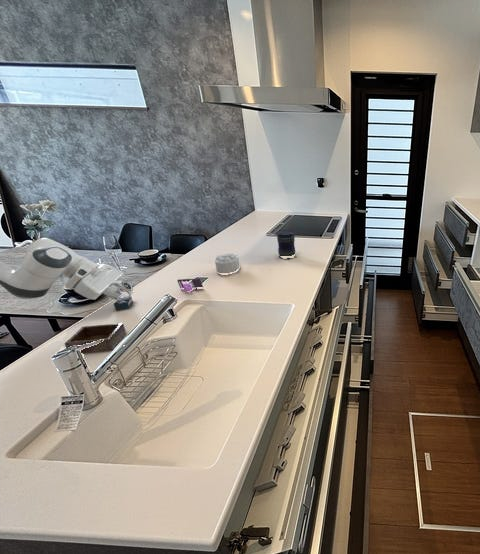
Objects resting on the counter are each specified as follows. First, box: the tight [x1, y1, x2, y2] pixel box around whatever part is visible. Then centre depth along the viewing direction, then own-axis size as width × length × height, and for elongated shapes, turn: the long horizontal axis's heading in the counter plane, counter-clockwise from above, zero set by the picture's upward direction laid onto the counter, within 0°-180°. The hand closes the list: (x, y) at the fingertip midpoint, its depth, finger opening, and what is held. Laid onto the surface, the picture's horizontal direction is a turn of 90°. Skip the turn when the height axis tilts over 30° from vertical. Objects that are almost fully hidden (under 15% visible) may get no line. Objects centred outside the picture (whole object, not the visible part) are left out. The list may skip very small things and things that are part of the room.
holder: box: [64, 322, 127, 354], centre depth 99 cm, size 12×10×4 cm
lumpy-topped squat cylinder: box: [214, 253, 241, 278], centre depth 156 cm, size 10×13×9 cm
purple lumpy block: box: [176, 277, 204, 292], centre depth 134 cm, size 7×5×9 cm
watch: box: [107, 279, 134, 311], centre depth 120 cm, size 6×8×11 cm
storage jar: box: [276, 229, 296, 256], centre depth 179 cm, size 10×10×15 cm
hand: (122, 292), depth 120 cm, fingers closed on watch, 4 cm apart
